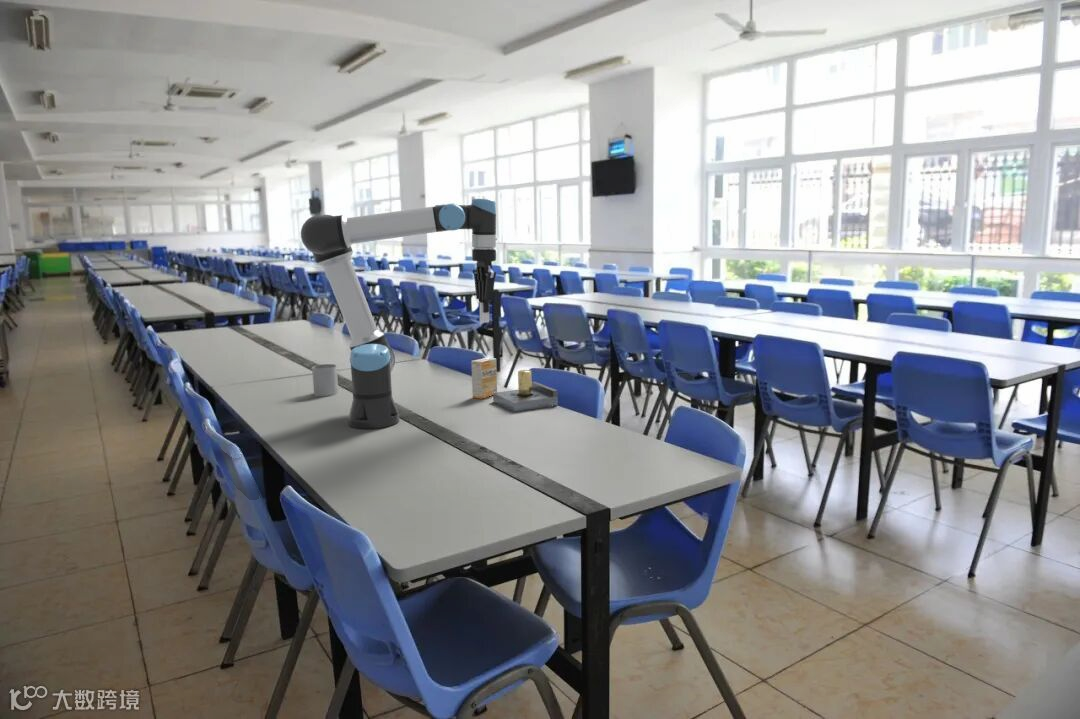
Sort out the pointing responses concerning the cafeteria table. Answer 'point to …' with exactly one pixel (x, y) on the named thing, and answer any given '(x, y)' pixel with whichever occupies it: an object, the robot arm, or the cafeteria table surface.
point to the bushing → (524, 383)
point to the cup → (325, 380)
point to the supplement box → (484, 377)
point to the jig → (527, 398)
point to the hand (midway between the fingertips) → (484, 322)
